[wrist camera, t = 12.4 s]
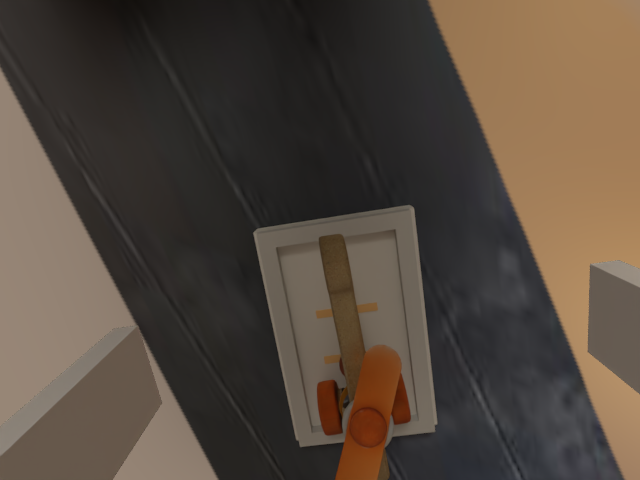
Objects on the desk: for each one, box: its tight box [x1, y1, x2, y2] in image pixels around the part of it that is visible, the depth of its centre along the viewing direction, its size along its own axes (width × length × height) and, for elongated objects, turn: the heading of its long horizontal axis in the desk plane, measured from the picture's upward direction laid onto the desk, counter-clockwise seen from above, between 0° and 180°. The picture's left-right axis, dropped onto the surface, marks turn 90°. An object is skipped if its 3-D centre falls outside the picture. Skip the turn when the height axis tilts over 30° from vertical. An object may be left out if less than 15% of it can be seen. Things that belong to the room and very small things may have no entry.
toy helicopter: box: [317, 234, 411, 480], centre depth 30 cm, size 8×21×14 cm, turn 11°
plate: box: [253, 205, 437, 447], centre depth 37 cm, size 23×15×3 cm, turn 9°
